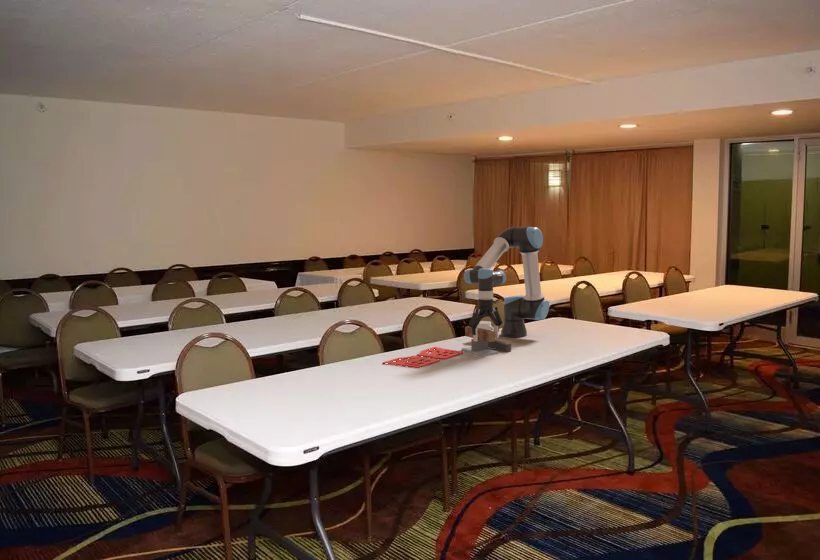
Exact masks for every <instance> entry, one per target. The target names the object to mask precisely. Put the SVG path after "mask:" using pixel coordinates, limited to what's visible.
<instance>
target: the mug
mask: <svg viewBox="0 0 820 560" xmlns="http://www.w3.org/2000/svg"><path fill="white" fill-rule="evenodd" d="M477 327H478V328H482V329H487V330H491V331H494V326H492V322H491V321H487V320H481V321H480V323H479V324H478V326H477Z"/></svg>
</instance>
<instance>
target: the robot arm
mask: <svg viewBox="0 0 820 560" xmlns="http://www.w3.org/2000/svg"><path fill="white" fill-rule="evenodd" d="M543 244H544V235H543V233H542V231H541V229H540V228H538V227H536V226H534V227H533V226H511V227H508V228H507V229H504V230H503V231H502V232H500V233H499V234H498V235H497V236H496V237H495V238H494V239H493V244H492V245H491V246H490V248H488V250H487V251H486V252H485V253H484V255H483V256H482V257H481V258H480V259H479V261H478V262H477V263H476V264H475V266H474V267H473V268H472V269H471V268H469V269H466V270H465V271H464V273H463V280H464V282H465V283H466V284H471V285H478V287H477V289H478V295H477V296H478V301H477V302H478V304H477V305H478V308H474V309H473V314H472V316H471V317H470V318H471V319H470V321H469V323H468V326H469V327H470V328H472V335H473V338H472V339H473V341H476V342H477V341H478V335H477V329H476V327H477V326H478V324H479V323H480V321H482V320H483V319H484V318H486V317H489V318H490V319H491V321H492V322H493V324H494V325H493V328H494V331H495V339H499V332H500V335H501V336H503V337H506V338H521V337H522V338H523V337H527V336H528V331H527V327H526V325H525V319H528V320H535V321H539V320H540V321H543V320H544V319H546V317H547V316H548V314H549V311H550V302H549V301H548V300H547V299H545V295H544V294H543V293H542V287H541V276H540V266H539V256H538V253H539V252H540V248H542V247H543ZM513 248H518V253H519V254H521V259H522V260H521V261H522V267H523V276H524V277H523V278H524V279H523V280H524V289H525V295H521V294H519V295H510V296H506V297H504V299H503V321H502V318H501V315H500V313H499V311H498V307H497V306H494V299H493V298H494V286H500V285H503V284H505V282H506V281H507V275H506V273H505V272H504V271H503V270H501V269H499V270H498V269H497V270H494V269H493V266H495V264H496V263H497V262H498V260H499V259H500V258H501V256H502V255H503V254H504V253H505V252H508V251H509V249H513ZM502 324H503V325H502ZM501 325H502V327H501V330H500V326H501Z"/></svg>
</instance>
